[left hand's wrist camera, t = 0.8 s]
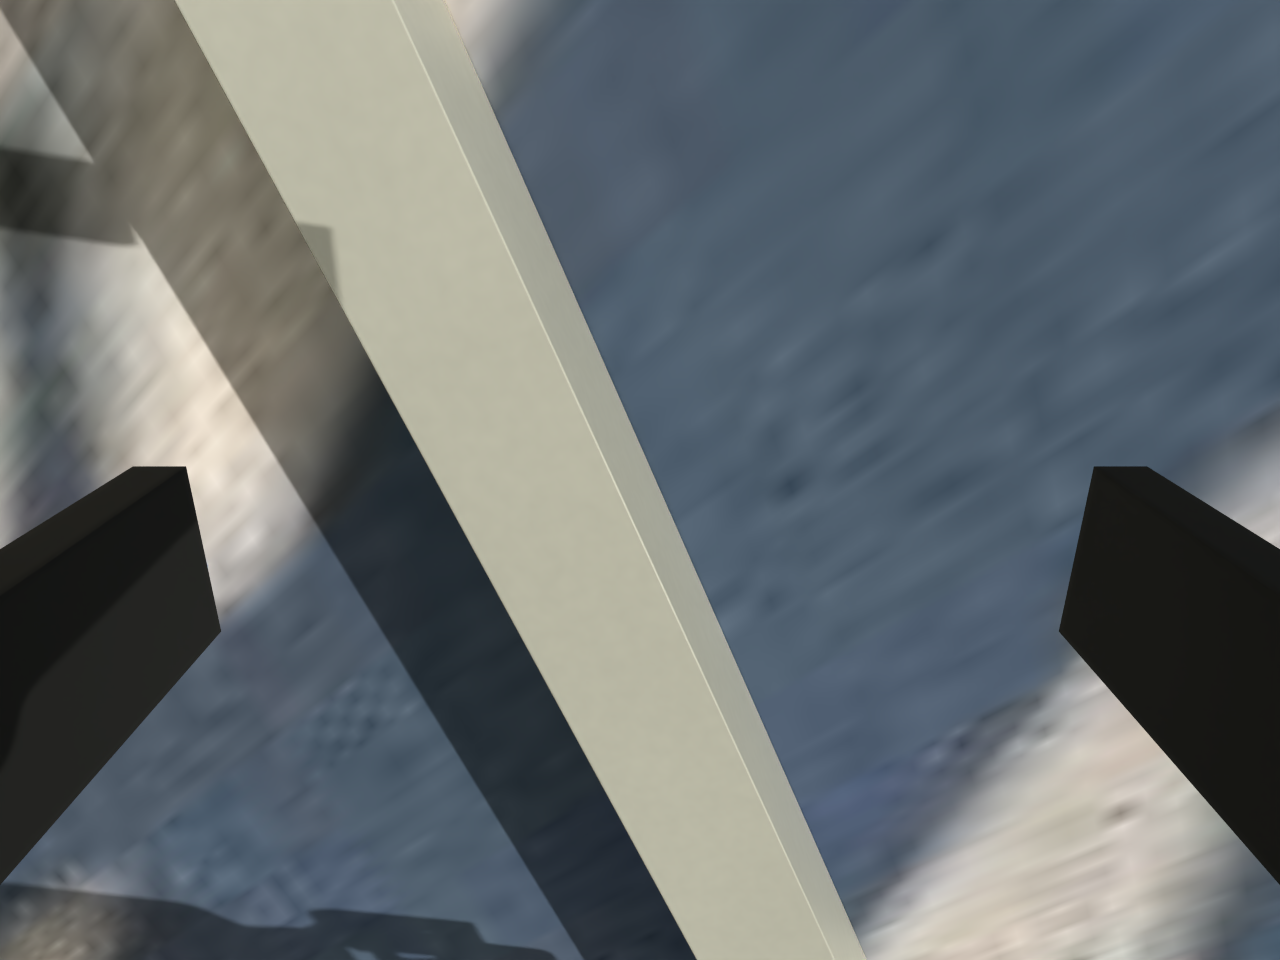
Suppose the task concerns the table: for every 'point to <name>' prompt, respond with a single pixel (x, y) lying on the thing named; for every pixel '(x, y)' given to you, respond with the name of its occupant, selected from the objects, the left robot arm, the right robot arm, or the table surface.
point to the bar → (527, 443)
